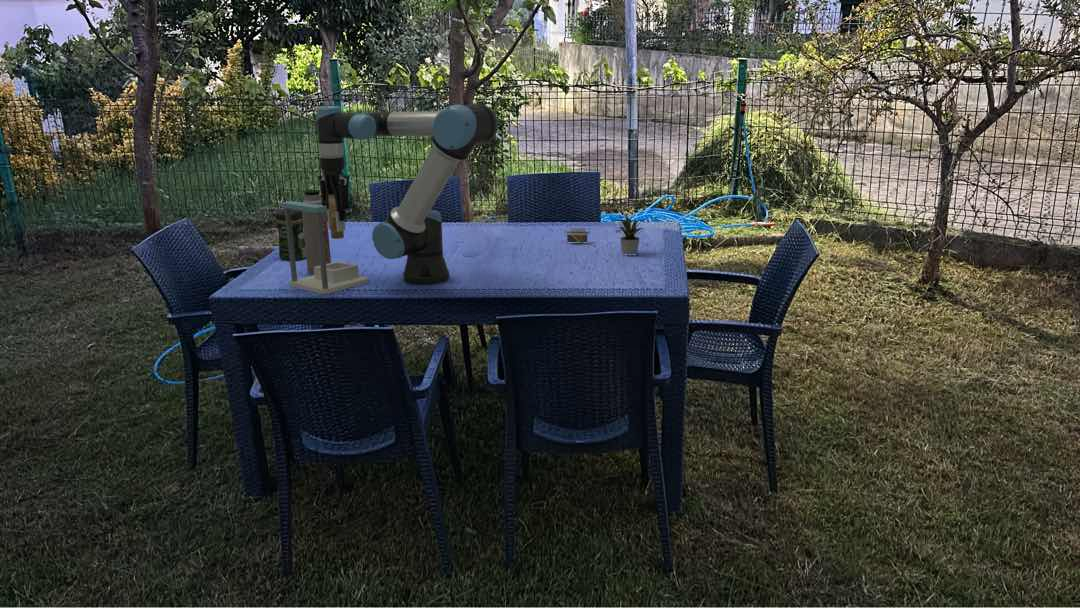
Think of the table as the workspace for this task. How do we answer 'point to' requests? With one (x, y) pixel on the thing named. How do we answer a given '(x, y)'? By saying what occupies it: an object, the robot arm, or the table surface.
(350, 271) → the cream tall frame
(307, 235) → the thermos bottle
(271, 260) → the table surface
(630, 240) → the house plant
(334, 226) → the oak peg
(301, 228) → the coffee jar
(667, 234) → the table surface
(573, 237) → the platform
